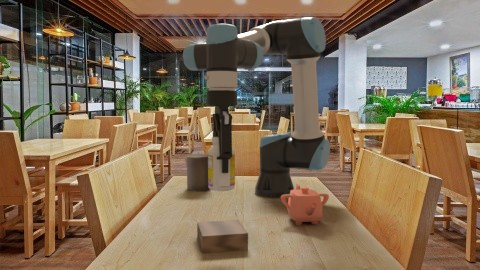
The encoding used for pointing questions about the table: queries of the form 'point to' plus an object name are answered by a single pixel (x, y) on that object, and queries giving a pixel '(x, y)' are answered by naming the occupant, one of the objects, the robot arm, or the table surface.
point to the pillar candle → (197, 172)
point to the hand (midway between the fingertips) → (221, 182)
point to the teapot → (304, 205)
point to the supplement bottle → (213, 168)
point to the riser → (222, 236)
